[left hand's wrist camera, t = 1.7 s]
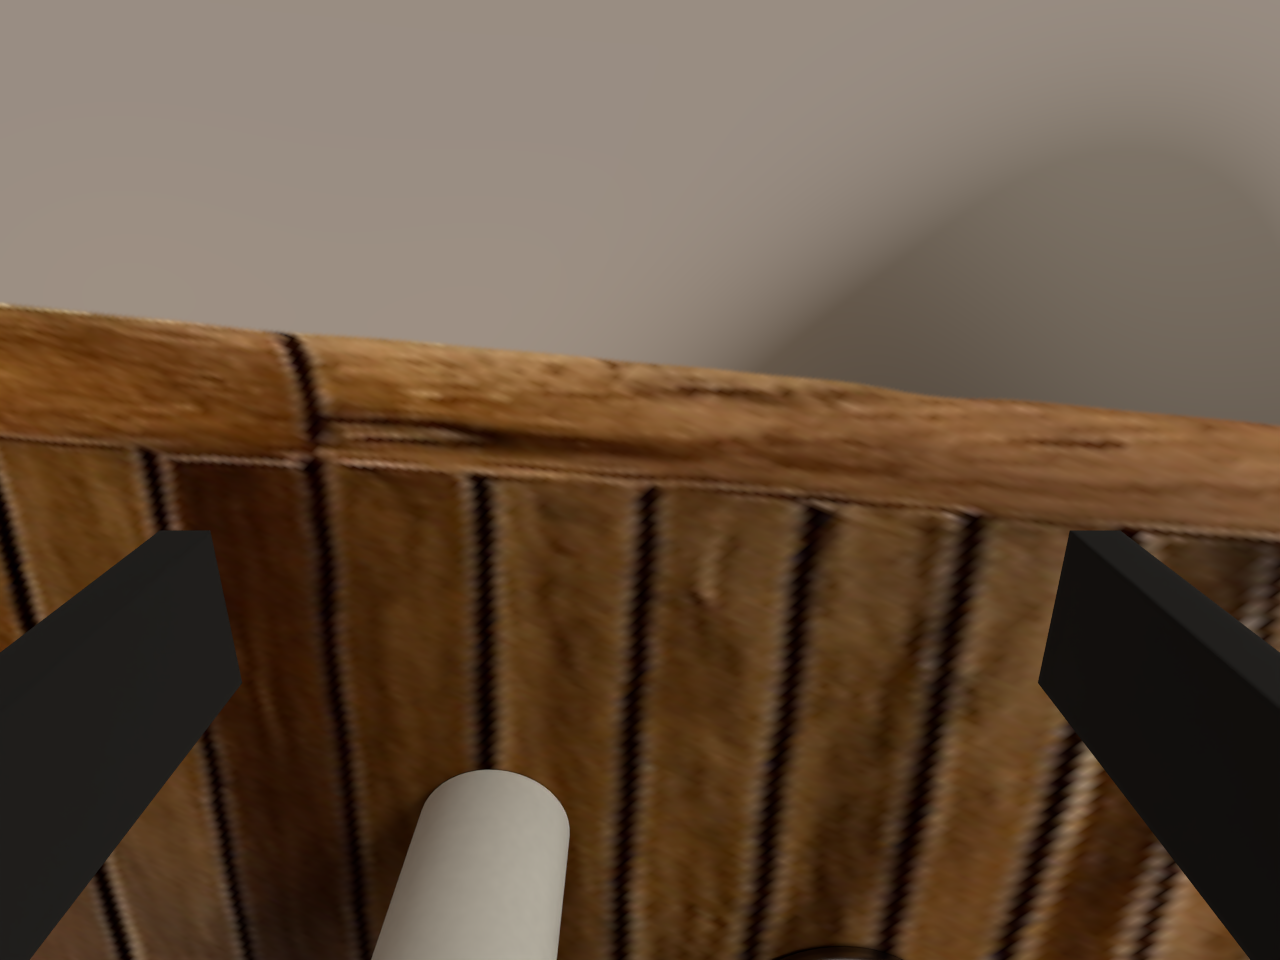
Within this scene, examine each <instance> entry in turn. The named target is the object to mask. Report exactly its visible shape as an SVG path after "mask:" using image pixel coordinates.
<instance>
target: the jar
mask: <svg viewBox="0 0 1280 960" xmlns="http://www.w3.org/2000/svg"><path fill="white" fill-rule="evenodd" d="M569 837H570V827H569V822H568V818H567V815H566V812H565V811H564V809H563V807H562V805H561V804H560V802H559V801H558V799H557V798H556V797H555V796H554V795H553V794H552V793H551V792H550V791H549V790H548V789H546V788H545V787H544V786H542V785H541V784H539V783H538V782H536V781H534V780H532V779H530V778H528V777H526V776H523V775H520V774H517V773H513V772H508V771H502V770H477V771H472V772H467V773H464V774H461V775H458V776H456V777H453V778H451V779H449V780H448V781H446V782H444V783H443V784H441V785H440V786H439V787H438V788H436V789H435V790H434V791H433V793H432V794H431V795H430V796H429V797H428V799H427V800H426V802H425V804H424V806H423V808H422V811H421V814H420V817H419V820H418V823H417V826H416V829H415V832H414V835H413V838H412V840H411V843H410V846H409V849H408V852H407V855H406V858H405V861H404V864H403V867H402V870H401V873H400V876H399V879H398V882H397V885H396V888H395V891H394V894H393V897H392V900H391V903H390V906H389V909H388V912H387V914H386V917H385V920H384V923H383V926H382V929H381V932H380V935H379V938H378V941H377V944H376V947H375V950H374V953H373V956H372V959H371V960H557V951H558V941H559V932H560V922H561V913H562V903H563V894H564V884H565V875H566V865H567V856H568V846H569Z"/></svg>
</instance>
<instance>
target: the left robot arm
mask: <svg viewBox="0 0 1280 960" xmlns="http://www.w3.org/2000/svg"><path fill="white" fill-rule="evenodd" d="M241 683H242V680H241V676H240V671H239V666H238V661H237V657H236V652H235V647H234V642H233V638H232V633H231V628H230V623H229V619H228V614H227V609H226V604H225V599H224V595H223V590H222V585H221V580H220V576H219V571H218V566H217V561H216V557H215V552H214V547H213V542H212V538H211V533H210V531H159V532H158V533H156V534H155V535H154V536H152V537H151V538H150V539H148V540H147V541H146V542H144V543H143V544H142V545H140V546H139V547H138V548H137V549H135V550H134V551H133V552H131V553H130V554H129V555H127V556H126V557H125V558H123V559H122V560H121V561H120V562H118V563H117V564H116V565H114V566H113V567H112V568H110V569H109V570H108V571H106V572H105V573H104V574H103V575H101V576H100V577H99V578H97V579H96V580H95V581H93V582H92V583H91V584H89V585H88V586H87V587H85V588H84V589H83V590H82V591H80V592H79V593H78V594H76V595H75V596H74V597H72V598H71V599H70V600H68V601H67V602H66V603H65V604H63V605H62V606H61V607H59V608H58V609H57V610H55V611H54V612H53V613H51V614H50V615H49V616H48V617H46V618H45V619H44V620H42V621H41V622H40V623H38V624H37V625H36V626H34V627H33V628H32V629H30V630H29V631H28V632H27V633H25V634H24V635H23V636H21V637H20V638H19V639H17V640H16V641H15V642H13V643H12V644H11V645H10V646H8V647H7V648H6V649H4V650H3V651H2V652H0V960H30V958H31V957H32V956H33V955H34V953H35V952H36V951H37V949H38V948H39V947H40V945H41V944H42V943H43V942H44V940H45V939H46V938H47V936H48V935H49V934H50V932H51V931H52V930H53V928H54V927H55V926H56V925H57V923H58V922H59V921H60V919H61V918H62V917H63V915H64V914H65V913H66V912H67V910H68V909H69V908H70V906H71V905H72V904H73V902H74V901H75V900H76V899H77V897H78V896H79V895H80V893H81V892H82V891H83V889H84V888H85V887H86V885H87V884H88V883H89V882H90V880H91V879H92V878H93V876H94V875H95V874H96V872H97V871H98V870H99V869H100V867H101V866H102V865H103V863H104V862H105V861H106V859H107V858H108V857H109V856H110V854H111V853H112V852H113V850H114V849H115V848H116V846H117V845H118V844H119V842H120V841H121V840H122V839H123V837H124V836H125V835H126V833H127V832H128V831H129V829H130V828H131V827H132V826H133V824H134V823H135V822H136V820H137V819H138V818H139V816H140V815H141V814H142V812H143V811H144V810H145V809H146V807H147V806H148V805H149V803H150V802H151V801H152V799H153V798H154V797H155V796H156V794H157V793H158V792H159V790H160V789H161V788H162V786H163V785H164V784H165V783H166V781H167V780H168V779H169V777H170V776H171V775H172V773H173V772H174V771H175V769H176V768H177V767H178V766H179V764H180V763H181V762H182V760H183V759H184V758H185V756H186V755H187V754H188V753H189V751H190V750H191V749H192V747H193V746H194V745H195V743H196V742H197V741H198V739H199V738H200V737H201V736H202V734H203V733H204V732H205V730H206V729H207V728H208V726H209V725H210V724H211V723H212V721H213V720H214V719H215V717H216V716H217V715H218V713H219V712H220V711H221V710H222V708H223V707H224V706H225V704H226V703H227V702H228V700H229V699H230V698H231V696H232V695H233V694H234V693H235V691H236V690H237V689H238V687H239V686H240V685H241ZM1038 683H1039V685H1040V686H1041V687H1042V689H1043V690H1044V691H1045V693H1046V694H1047V695H1048V696H1049V698H1050V699H1051V700H1052V702H1053V703H1054V704H1055V706H1056V707H1057V708H1058V710H1059V711H1060V712H1061V713H1062V715H1063V716H1064V717H1065V719H1066V720H1067V721H1068V723H1069V724H1070V725H1071V726H1072V728H1073V729H1074V730H1075V732H1076V733H1077V734H1078V736H1079V737H1080V738H1081V739H1082V741H1083V742H1084V743H1085V745H1086V746H1087V747H1088V749H1089V750H1090V751H1091V753H1092V754H1093V755H1094V756H1095V758H1096V759H1097V760H1098V762H1099V763H1100V764H1101V766H1102V767H1103V768H1104V769H1105V771H1106V772H1107V773H1108V775H1109V776H1110V777H1111V779H1112V780H1113V781H1114V783H1115V784H1116V785H1117V786H1118V788H1119V789H1120V790H1121V792H1122V793H1123V794H1124V796H1125V797H1126V798H1127V799H1128V801H1129V802H1130V803H1131V805H1132V806H1133V807H1134V809H1135V810H1136V811H1137V812H1138V814H1139V815H1140V816H1141V818H1142V819H1143V820H1144V822H1145V823H1146V824H1147V826H1148V827H1149V828H1150V829H1151V831H1152V832H1153V833H1154V835H1155V836H1156V837H1157V839H1158V840H1159V841H1160V842H1161V844H1162V845H1163V846H1164V848H1165V849H1166V850H1167V852H1168V853H1169V854H1170V856H1171V857H1172V858H1173V859H1174V861H1175V862H1176V863H1177V865H1178V866H1179V867H1180V869H1181V870H1182V871H1183V872H1184V874H1185V875H1186V876H1187V878H1188V879H1189V880H1190V882H1191V883H1192V884H1193V885H1194V887H1195V888H1196V889H1197V891H1198V892H1199V893H1200V895H1201V896H1202V897H1203V899H1204V900H1205V901H1206V902H1207V904H1208V905H1209V906H1210V908H1211V909H1212V910H1213V912H1214V913H1215V914H1216V915H1217V917H1218V918H1219V919H1220V921H1221V922H1222V923H1223V925H1224V926H1225V927H1226V929H1227V930H1228V931H1229V932H1230V934H1231V935H1232V936H1233V938H1234V939H1235V940H1236V942H1237V943H1238V944H1239V945H1240V947H1241V948H1242V949H1243V951H1244V952H1245V953H1246V955H1247V956H1248V957H1249V958H1250V960H1280V652H1278V651H1277V650H1276V649H1274V648H1273V647H1272V646H1270V645H1269V644H1268V643H1267V642H1265V641H1264V640H1263V639H1261V638H1260V637H1259V636H1257V635H1256V634H1255V633H1253V632H1252V631H1251V630H1250V629H1248V628H1247V627H1246V626H1244V625H1243V624H1242V623H1240V622H1239V621H1238V620H1236V619H1235V618H1234V617H1232V616H1231V615H1230V614H1229V613H1227V612H1226V611H1225V610H1223V609H1222V608H1221V607H1219V606H1218V605H1217V604H1215V603H1214V602H1213V601H1212V600H1210V599H1209V598H1208V597H1206V596H1205V595H1204V594H1202V593H1201V592H1200V591H1198V590H1197V589H1196V588H1195V587H1193V586H1192V585H1191V584H1189V583H1188V582H1187V581H1185V580H1184V579H1183V578H1181V577H1180V576H1179V575H1177V574H1176V573H1175V572H1174V571H1172V570H1171V569H1170V568H1168V567H1167V566H1166V565H1164V564H1163V563H1162V562H1160V561H1159V560H1158V559H1157V558H1155V557H1154V556H1153V555H1151V554H1150V553H1149V552H1147V551H1146V550H1145V549H1143V548H1142V547H1141V546H1140V545H1138V544H1137V543H1136V542H1134V541H1133V540H1132V539H1130V538H1129V537H1128V536H1126V535H1125V534H1124V533H1122V532H1121V531H1070V533H1069V538H1068V542H1067V547H1066V552H1065V557H1064V561H1063V566H1062V571H1061V576H1060V580H1059V585H1058V590H1057V595H1056V599H1055V604H1054V609H1053V614H1052V619H1051V623H1050V628H1049V633H1048V638H1047V642H1046V647H1045V652H1044V657H1043V661H1042V666H1041V671H1040V676H1039V680H1038ZM780 960H902V959H900V958H898V957H896V956H893V955H890V954H887V953H884V952H880V951H876V950H871V949H866V948H858V947H827V948H818V949H813V950H808V951H804V952H800V953H796V954H793V955H790V956H787V957H785V958H782V959H780Z"/></svg>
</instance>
